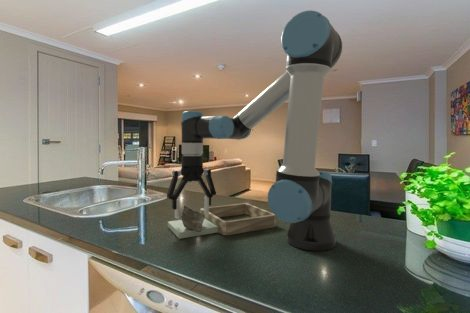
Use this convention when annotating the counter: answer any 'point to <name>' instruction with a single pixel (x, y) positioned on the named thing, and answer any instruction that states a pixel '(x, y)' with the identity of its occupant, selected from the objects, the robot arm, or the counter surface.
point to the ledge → (184, 232)
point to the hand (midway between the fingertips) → (192, 216)
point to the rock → (192, 219)
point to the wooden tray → (257, 222)
